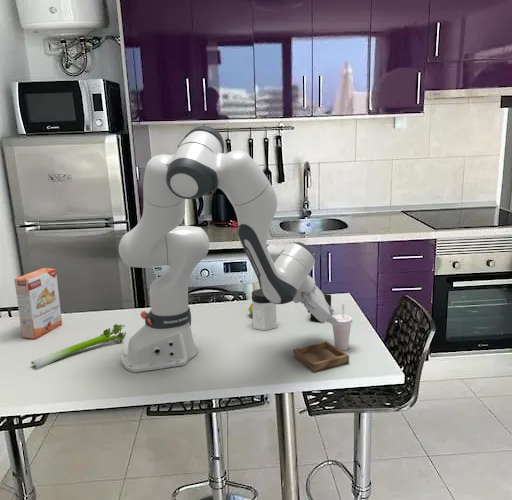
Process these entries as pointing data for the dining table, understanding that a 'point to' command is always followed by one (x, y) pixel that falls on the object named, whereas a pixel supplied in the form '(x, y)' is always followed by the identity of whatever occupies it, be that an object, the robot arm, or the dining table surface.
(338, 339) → the smoothie
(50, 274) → the cracker box
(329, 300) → the digital camera
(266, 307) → the jar
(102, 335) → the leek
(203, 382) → the dining table surface
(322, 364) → the tray
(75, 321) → the dining table surface
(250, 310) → the toy pineapple
